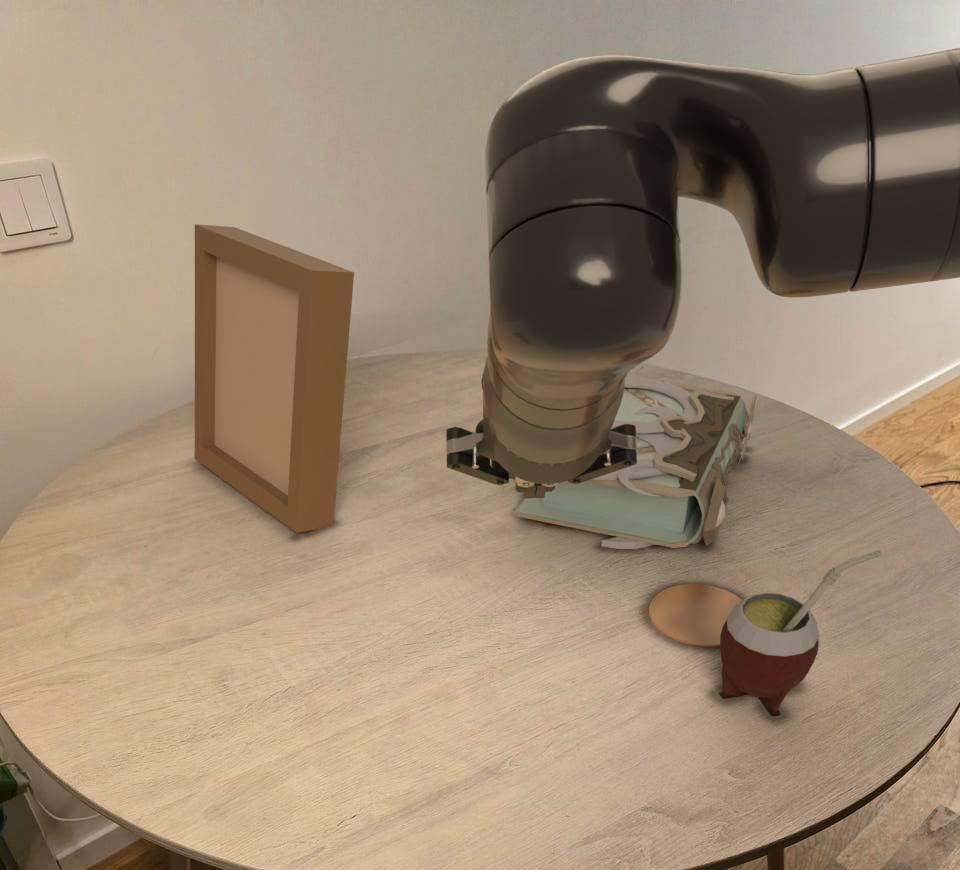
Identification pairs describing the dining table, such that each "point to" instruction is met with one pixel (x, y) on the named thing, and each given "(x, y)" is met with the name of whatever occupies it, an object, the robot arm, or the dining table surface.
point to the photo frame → (270, 371)
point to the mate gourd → (772, 642)
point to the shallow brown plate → (692, 613)
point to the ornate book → (658, 470)
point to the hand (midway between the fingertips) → (534, 485)
